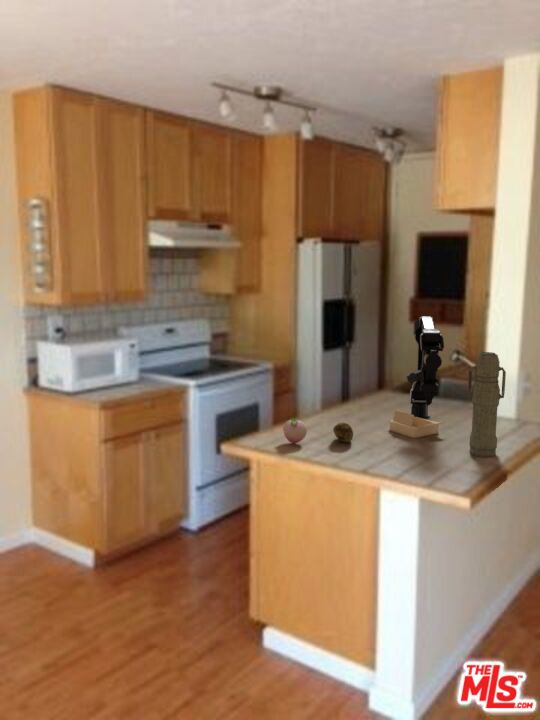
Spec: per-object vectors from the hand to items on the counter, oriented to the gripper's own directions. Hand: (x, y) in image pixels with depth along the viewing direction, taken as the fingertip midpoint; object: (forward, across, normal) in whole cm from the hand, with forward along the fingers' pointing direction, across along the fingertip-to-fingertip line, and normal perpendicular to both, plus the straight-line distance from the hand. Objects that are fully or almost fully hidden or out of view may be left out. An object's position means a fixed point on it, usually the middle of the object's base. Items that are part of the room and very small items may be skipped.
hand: (428, 405), depth 254 cm
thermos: (+11, +21, +18) cm, 30 cm away
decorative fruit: (+11, +24, -47) cm, 54 cm away
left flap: (+7, +2, 0) cm, 8 cm away
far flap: (+7, +2, -9) cm, 12 cm away
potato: (+11, +18, -30) cm, 37 cm away
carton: (+12, -3, -5) cm, 13 cm away
